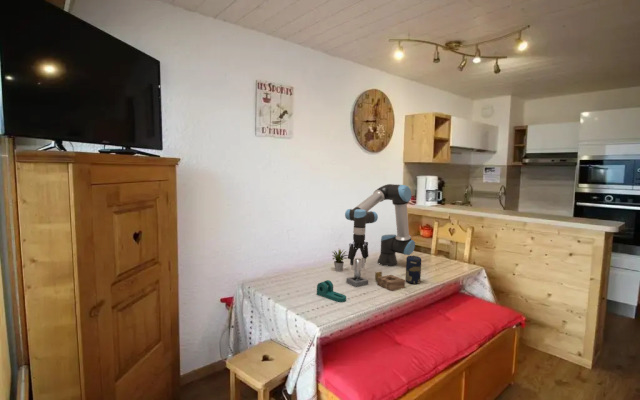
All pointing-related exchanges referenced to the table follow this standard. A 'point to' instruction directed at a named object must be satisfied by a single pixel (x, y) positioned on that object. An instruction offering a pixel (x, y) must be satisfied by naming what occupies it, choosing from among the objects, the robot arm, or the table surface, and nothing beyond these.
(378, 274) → the yellow t-shaped block
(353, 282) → the grey square frame
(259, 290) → the table surface
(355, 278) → the grey rounded rod
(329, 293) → the bracket
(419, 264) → the canister
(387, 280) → the socket block
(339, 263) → the house plant
